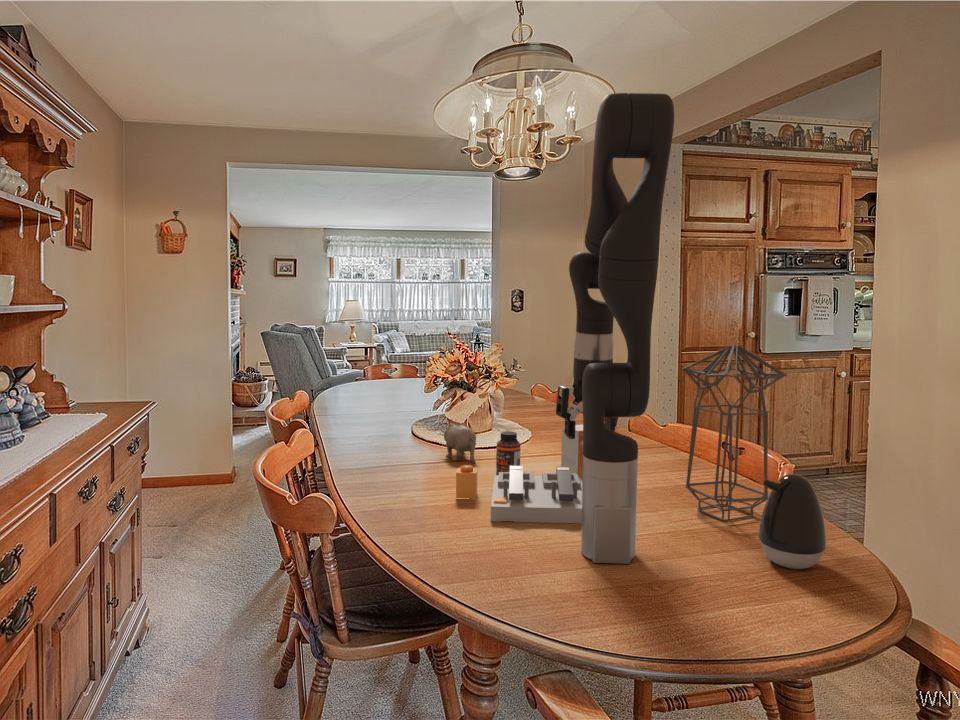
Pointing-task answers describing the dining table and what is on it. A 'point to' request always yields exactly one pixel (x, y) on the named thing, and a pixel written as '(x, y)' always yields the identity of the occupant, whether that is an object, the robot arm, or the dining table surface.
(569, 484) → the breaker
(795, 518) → the pump dispenser
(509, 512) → the breaker panel
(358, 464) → the dining table surface
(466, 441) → the rhinoceros figurine
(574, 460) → the small box
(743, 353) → the geometric lantern
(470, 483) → the cap
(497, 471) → the supplement bottle
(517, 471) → the breaker
